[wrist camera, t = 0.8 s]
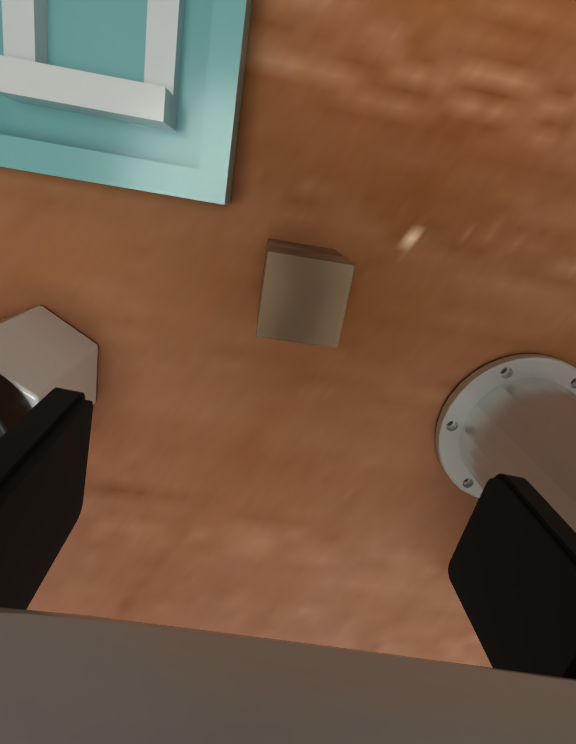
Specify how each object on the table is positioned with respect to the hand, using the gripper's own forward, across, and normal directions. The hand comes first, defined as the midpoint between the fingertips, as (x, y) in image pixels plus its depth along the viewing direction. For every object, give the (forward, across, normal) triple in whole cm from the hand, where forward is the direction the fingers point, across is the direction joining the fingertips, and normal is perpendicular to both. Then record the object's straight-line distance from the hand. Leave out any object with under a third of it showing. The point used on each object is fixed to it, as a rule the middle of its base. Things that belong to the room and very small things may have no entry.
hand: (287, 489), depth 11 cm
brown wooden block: (+23, -1, -1) cm, 23 cm away
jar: (+23, +15, +9) cm, 29 cm away
